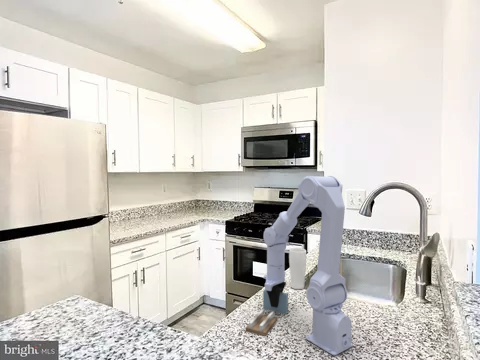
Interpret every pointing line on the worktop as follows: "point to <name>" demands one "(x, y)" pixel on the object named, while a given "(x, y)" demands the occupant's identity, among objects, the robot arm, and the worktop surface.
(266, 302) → the door panel
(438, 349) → the worktop surface
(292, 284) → the drinking glass
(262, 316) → the bottom track
